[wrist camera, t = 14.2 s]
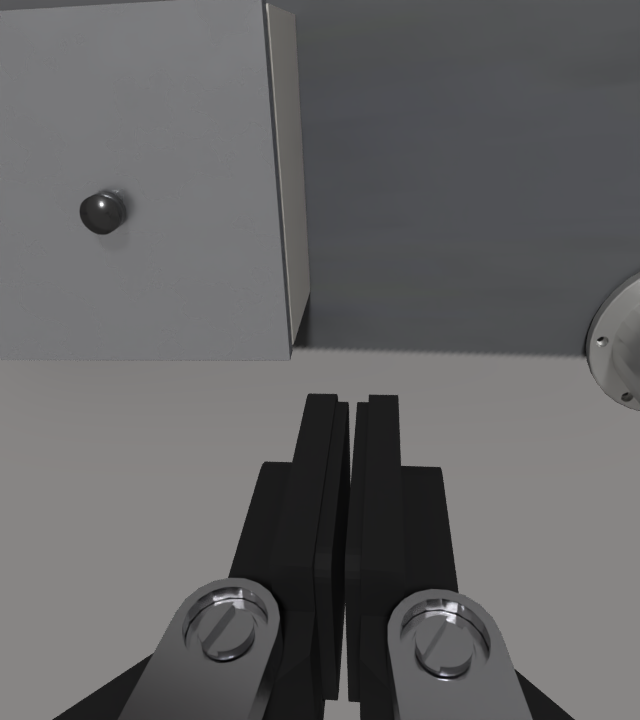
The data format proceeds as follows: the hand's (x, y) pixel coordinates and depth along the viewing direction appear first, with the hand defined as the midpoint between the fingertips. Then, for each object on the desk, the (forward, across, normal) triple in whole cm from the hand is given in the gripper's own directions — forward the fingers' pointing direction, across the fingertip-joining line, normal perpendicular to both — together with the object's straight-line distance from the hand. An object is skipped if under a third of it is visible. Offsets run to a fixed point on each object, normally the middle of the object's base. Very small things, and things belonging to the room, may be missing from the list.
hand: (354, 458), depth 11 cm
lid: (+21, +16, 0) cm, 27 cm away
